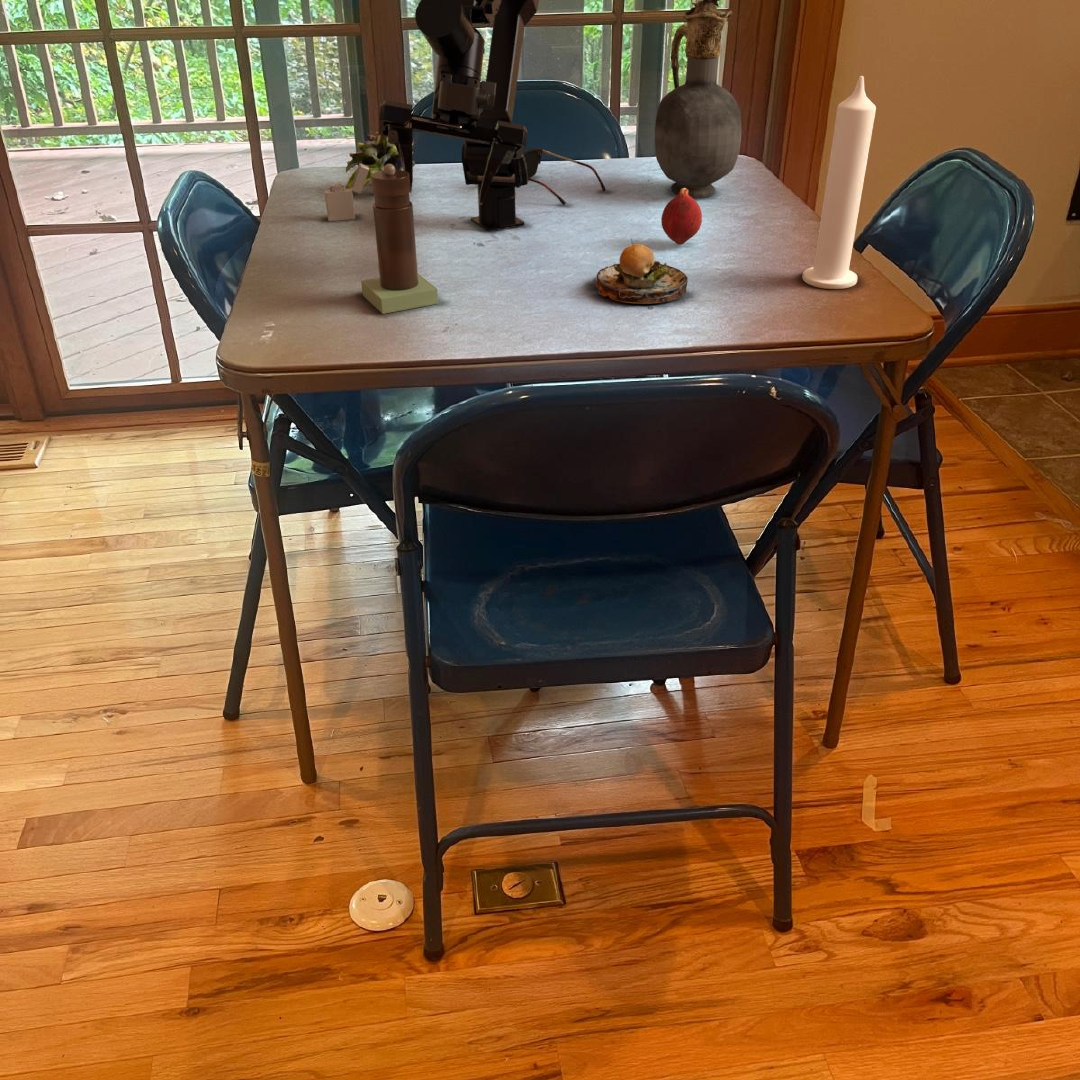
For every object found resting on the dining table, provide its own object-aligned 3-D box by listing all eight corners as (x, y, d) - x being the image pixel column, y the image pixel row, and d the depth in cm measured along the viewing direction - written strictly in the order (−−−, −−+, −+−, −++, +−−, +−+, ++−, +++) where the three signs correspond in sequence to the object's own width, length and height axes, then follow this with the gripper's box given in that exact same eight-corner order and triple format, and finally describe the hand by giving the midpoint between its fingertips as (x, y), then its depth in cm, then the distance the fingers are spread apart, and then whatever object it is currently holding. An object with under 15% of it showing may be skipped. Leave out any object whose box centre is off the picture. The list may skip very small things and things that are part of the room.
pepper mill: (379, 279, 129) (367, 160, 121) (416, 276, 130) (407, 158, 121) (381, 291, 125) (369, 170, 117) (419, 289, 126) (410, 167, 117)
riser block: (362, 295, 130) (360, 280, 128) (416, 285, 132) (415, 270, 131) (382, 314, 124) (380, 298, 123) (438, 303, 127) (437, 288, 126)
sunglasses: (539, 174, 179) (541, 145, 176) (610, 196, 171) (613, 166, 168) (487, 190, 171) (487, 160, 168) (558, 213, 163) (560, 182, 160)
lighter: (328, 221, 157) (322, 168, 152) (327, 218, 158) (321, 165, 154) (374, 217, 158) (369, 164, 154) (372, 214, 160) (367, 162, 155)
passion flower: (385, 216, 177) (414, 153, 175) (405, 221, 168) (436, 153, 166) (328, 185, 171) (357, 118, 169) (345, 187, 162) (376, 117, 160)
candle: (826, 292, 129) (859, 83, 115) (791, 276, 135) (818, 74, 121) (868, 283, 132) (905, 77, 118) (831, 268, 137) (863, 69, 123)
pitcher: (681, 207, 162) (696, -3, 145) (637, 178, 177) (646, -15, 160) (742, 201, 164) (764, -6, 148) (694, 173, 179) (709, -17, 163)
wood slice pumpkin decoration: (704, 294, 129) (710, 236, 125) (631, 312, 124) (633, 253, 120) (648, 268, 138) (651, 213, 133) (577, 284, 132) (577, 228, 128)
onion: (698, 252, 143) (703, 195, 139) (658, 249, 144) (661, 193, 140) (701, 239, 148) (705, 184, 143) (662, 237, 149) (665, 182, 144)
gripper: (387, 33, 119) (373, 166, 119) (541, 63, 122) (526, 192, 123) (384, 70, 130) (372, 192, 130) (526, 97, 133) (512, 215, 134)
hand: (445, 197), depth 129 cm, fingers open, 9 cm apart
